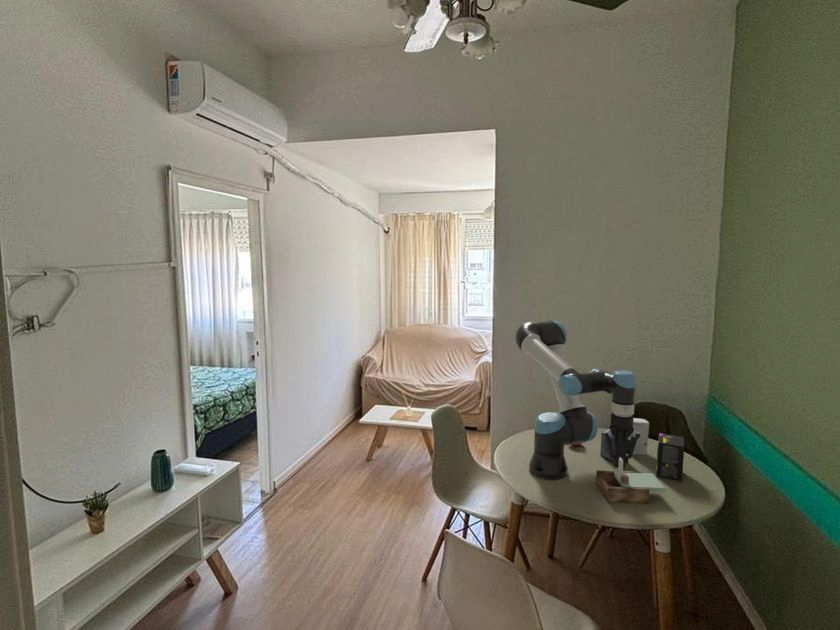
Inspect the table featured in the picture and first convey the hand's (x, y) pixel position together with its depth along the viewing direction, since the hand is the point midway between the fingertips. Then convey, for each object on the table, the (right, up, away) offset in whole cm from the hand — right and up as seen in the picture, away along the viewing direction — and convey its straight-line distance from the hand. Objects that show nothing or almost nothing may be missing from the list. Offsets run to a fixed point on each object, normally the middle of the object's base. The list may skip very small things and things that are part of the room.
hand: (618, 475), depth 175 cm
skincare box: (+23, -2, +38) cm, 44 cm away
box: (+1, -7, +1) cm, 7 cm away
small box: (+11, -3, +30) cm, 32 cm away
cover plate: (+7, -3, 0) cm, 8 cm away
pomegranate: (-2, -1, +46) cm, 46 cm away
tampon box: (+27, -5, +17) cm, 32 cm away
